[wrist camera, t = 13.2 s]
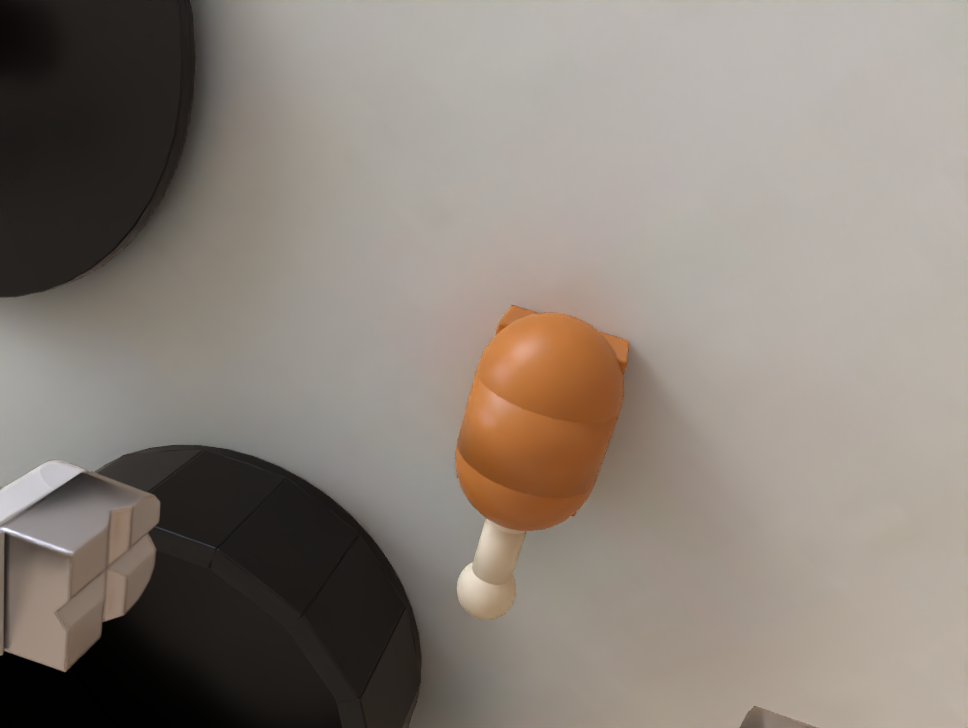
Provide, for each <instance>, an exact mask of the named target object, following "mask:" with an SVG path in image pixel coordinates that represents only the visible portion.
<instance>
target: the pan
mask: <svg viewBox="0 0 968 728" xmlns="http://www.w3.org/2000/svg"><path fill="white" fill-rule="evenodd" d="M95 473H98V474H100V475H103V476H106V477H108V478H111V479H114V480H116V481H119V482H121V483H124V484H127V485H129V486H132V487H135V488H137V489H140V490H143V491H145V492H148V493H151V494H153V495H155V496H156V497H157V499H158V500H159V501H160V520H159V523H158V524H157V525H156V526H155V527H154V528H153V529H152V530H150V531H149V532H148V534H149V536H150V538H151V539H152V541H153V543H154V545H155V547H156V549H157V551H156V560H155V566H154V569H153V572H152V576H151V579H150V582H149V583H148V585H147V587H146V588H145V590H144V592H143V593H142V595H141V597H140V598H139V600H138V601H137V602H136V603H135V604H134V605H133V607H132V608H131V609H130V610H129V611H128V612H127V613H126V614H125V615H124V616H120V617H117V618H114V619H111V620H108V621H105V622H102V635H101V638H100V639H99V640H98V641H97V642H96V643H95V644H94V645H93V646H92V647H91V648H90V649H89V650H88V651H87V652H86V653H85V654H84V655H83V656H82V657H81V658H80V659H79V660H78V661H77V662H75V663H74V664H73V665H72V666H71V667H70V668H69V669H68V670H67V671H66V672H63V671H61V670H58V669H55V668H52V667H49V666H46V665H43V664H41V663H38V662H35V661H32V660H29V659H26V658H23V657H20V656H18V655H15V654H12V653H9V652H6V651H4V653H3V655H1V656H0V728H408V726H409V723H410V719H411V716H412V713H413V710H414V708H415V705H416V702H417V697H418V692H419V687H420V683H421V650H420V642H419V634H418V630H417V626H416V622H415V618H414V615H413V611H412V608H411V605H410V603H409V600H408V598H407V596H406V593H405V591H404V588H403V586H402V584H401V582H400V580H399V578H398V577H397V575H396V573H395V571H394V570H393V568H392V566H391V564H390V563H389V561H388V559H387V558H386V557H385V555H384V554H383V553H382V551H381V550H380V549H379V547H378V546H377V544H376V543H375V542H374V540H373V539H372V538H371V537H370V536H369V534H368V533H367V532H366V531H365V530H364V529H363V528H362V527H361V526H360V525H359V524H358V523H357V521H356V520H355V519H354V518H353V517H352V516H351V515H350V514H348V513H347V512H346V511H345V510H344V509H343V508H342V507H340V506H339V505H338V504H337V503H336V502H335V501H333V500H332V499H331V498H330V497H329V496H327V495H326V494H324V493H323V492H321V491H320V490H318V489H317V488H315V487H314V486H313V485H311V484H310V483H308V482H307V481H305V480H303V479H301V478H300V477H298V476H296V475H294V474H292V473H290V472H289V471H287V470H285V469H283V468H281V467H279V466H276V465H274V464H271V463H269V462H266V461H264V460H261V459H259V458H256V457H254V456H250V455H247V454H243V453H239V452H236V451H232V450H228V449H222V448H215V447H208V446H201V445H171V446H163V447H155V448H148V449H145V450H141V451H138V452H134V453H131V454H126V455H123V456H121V457H120V458H118V459H116V460H114V461H112V462H110V463H108V464H106V465H104V466H103V467H101V468H100V469H98V470H97V471H95Z"/></svg>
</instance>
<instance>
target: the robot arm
mask: <svg viewBox="0 0 968 728" xmlns="http://www.w3.org/2000/svg"><path fill="white" fill-rule="evenodd" d="M159 520H160V501H159V500H158V499H157V497H156V496H155V495H153V494H151V493H148V492H145V491H143V490H140V489H137V488H135V487H132V486H129V485H127V484H124V483H121V482H119V481H116V480H114V479H111V478H108V477H106V476H103V475H100V474H98V473H95V472H92V471H91V472H90V471H88V470H86V469H83V468H80V467H78V466H75V465H72V464H69V463H67V462H64V461H61V460H52V461H47V462H45V463H43V464H42V465H40V466H39V467H37V468H35V469H34V470H32V471H30V472H29V473H27V474H25V475H24V476H22V477H20V478H19V479H17V480H15V481H14V482H12V483H10V484H9V485H7V486H5V487H4V488H2V489H0V656H1V655H3V653H4V651H6V652H9V653H12V654H15V655H18V656H20V657H23V658H26V659H29V660H32V661H35V662H38V663H41V664H43V665H46V666H49V667H52V668H55V669H58V670H61V671H63V672H66V671H67V670H68V669H69V668H70V667H71V666H72V665H73V664H74V663H75V662H77V661H78V660H79V659H80V658H81V657H82V656H83V655H84V654H85V653H86V652H87V651H88V650H89V649H90V648H91V647H92V646H93V645H94V644H95V643H96V642H97V641H98V640H99V639H100V638H101V635H102V622H105V621H108V620H111V619H114V618H117V617H120V616H124V615H125V614H126V613H127V612H128V611H129V610H130V609H131V608H132V607H133V605H134V604H135V603H136V602H137V601H138V600H139V598H140V597H141V595H142V593H143V592H144V590H145V588H146V587H147V585H148V583H149V582H150V579H151V576H152V572H153V569H154V566H155V560H156V551H157V549H156V547H155V545H154V543H153V541H152V539H151V538H150V536H149V534H148V532H149V531H150V530H152V529H153V528H154V527H155V526H156V525H157V524H158V523H159ZM740 728H818V727H815V726H812V725H809V724H806V723H803V722H801V721H798V720H795V719H792V718H789V717H786V716H783V715H780V714H777V713H774V712H772V711H769V710H766V709H763V708H760V707H757V706H754V707H753V708H752V709H751V710H750V711H749V712H748V713H747V715H746V717H745V719H744V721H743V722H742V724H741V726H740Z"/></svg>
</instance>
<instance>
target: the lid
mask: <svg viewBox="0 0 968 728" xmlns="http://www.w3.org/2000/svg"><path fill="white" fill-rule="evenodd" d="M194 74H195V44H194V28H193V15H192V9H191V3H190V0H0V298H3V297H19V296H24V295H29V294H34V293H39V292H44V291H47V290H50V289H54V288H56V287H59V286H62V285H64V284H67V283H70V282H72V281H75V280H78V279H80V278H82V277H84V276H85V275H87V274H89V273H91V272H92V271H94V270H96V269H98V268H99V267H101V266H103V265H104V264H106V263H107V262H108V261H109V260H110V259H112V258H113V257H114V256H115V255H117V254H118V253H119V252H120V251H121V250H123V249H124V248H125V247H126V246H127V245H128V244H129V243H130V242H131V241H132V239H133V238H134V237H135V236H136V235H137V234H138V233H139V231H140V230H141V229H142V228H143V227H144V226H145V225H146V223H147V222H148V220H149V219H150V217H151V216H152V214H153V212H154V211H155V209H156V208H157V206H158V205H159V203H160V201H161V200H162V198H163V197H164V195H165V192H166V190H167V188H168V186H169V184H170V181H171V179H172V177H173V175H174V173H175V170H176V168H177V165H178V162H179V159H180V156H181V152H182V149H183V146H184V142H185V139H186V136H187V132H188V126H189V120H190V114H191V108H192V102H193V95H194Z"/></svg>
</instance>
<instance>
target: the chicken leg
mask: <svg viewBox="0 0 968 728" xmlns="http://www.w3.org/2000/svg"><path fill="white" fill-rule="evenodd" d="M628 350H629V341H628V340H624V339H621V338H618V337H615V336H611V335H608V334H605V333H602V332H598V331H597V330H596V329H595V328H594V327H593V326H591V325H590V324H588V323H586V322H584V321H582V320H580V319H578V318H575V317H572V316H569V315H565V314H559V313H536V312H533V311H530V310H527V309H523V308H520V307H517V306H514V305H512V306H511V307H510V308H509V309H508V311H507V312H506V313H505V315H504V316H503V318H502V319H501V320H500V322H499V323H498V326H497V330H496V333H495V337H494V338H493V339H492V340H491V341H490V342H489V344H488V345H487V347H486V348H485V350H484V351H483V353H482V356H481V359H480V361H479V364H478V366H477V369H476V372H475V376H474V380H473V384H472V387H471V391H470V395H469V398H468V402H467V406H466V410H465V413H464V417H463V421H462V425H461V428H460V432H459V436H458V439H457V445H456V452H455V459H456V472H457V478H458V479H459V483H460V485H461V488H462V490H463V492H464V494H465V495H466V497H467V499H468V500H469V502H470V503H471V504H472V506H473V507H474V508H476V509H477V510H478V511H479V512H480V513H481V514H482V515H483V516H484V517H486V520H485V523H484V527H483V530H482V534H481V537H480V540H479V544H478V547H477V551H476V554H475V557H474V561H473V562H471V563H470V564H469V565H467V566H466V567H465V568H464V570H463V571H462V573H461V574H460V576H459V579H458V583H457V595H458V599H459V602H460V604H461V606H462V607H463V608H464V610H465V611H466V612H467V613H468V614H470V615H471V616H473V617H475V618H478V619H482V620H491V619H495V618H498V617H500V616H502V615H503V614H504V613H506V612H507V611H508V610H509V608H510V607H511V605H512V604H513V602H514V599H515V595H516V583H515V579H514V576H513V572H514V568H515V565H516V562H517V559H518V556H519V553H520V550H521V547H522V543H523V540H524V537H525V534H526V531H534V530H542V529H546V528H550V527H552V526H554V525H557V524H559V523H561V522H563V521H565V520H566V519H568V518H569V517H570V516H574V515H575V514H576V511H577V510H578V509H579V508H580V507H581V506H582V505H583V503H584V502H585V501H586V500H587V498H588V497H589V494H590V492H591V490H592V488H593V486H594V484H595V481H596V479H597V476H598V473H599V470H600V467H601V464H602V461H603V458H604V456H605V453H606V450H607V447H608V444H609V441H610V438H611V435H612V433H613V430H614V427H615V424H616V421H617V418H618V415H619V412H620V409H621V405H622V400H623V393H624V381H623V374H624V371H625V368H626V365H627V359H628Z"/></svg>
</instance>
